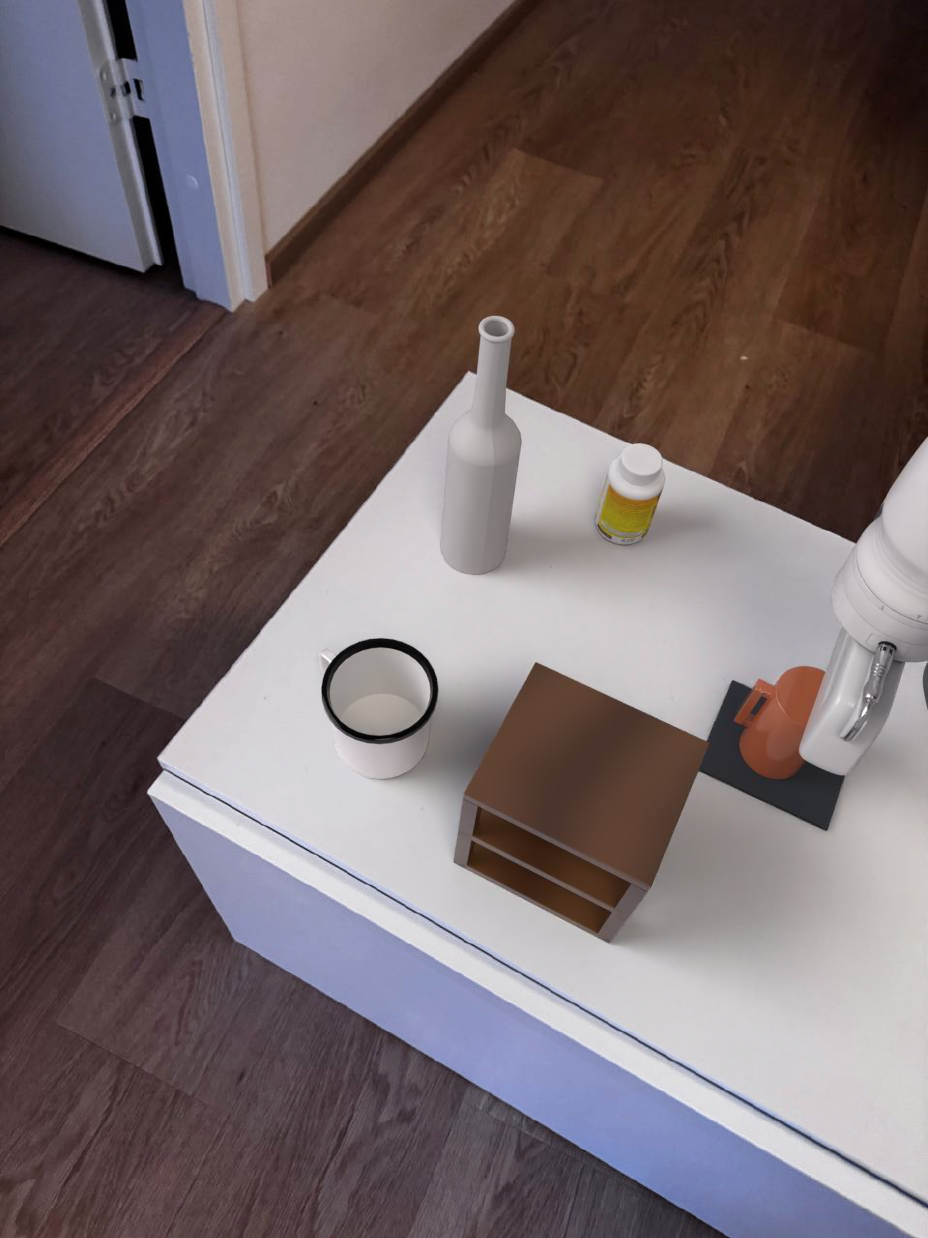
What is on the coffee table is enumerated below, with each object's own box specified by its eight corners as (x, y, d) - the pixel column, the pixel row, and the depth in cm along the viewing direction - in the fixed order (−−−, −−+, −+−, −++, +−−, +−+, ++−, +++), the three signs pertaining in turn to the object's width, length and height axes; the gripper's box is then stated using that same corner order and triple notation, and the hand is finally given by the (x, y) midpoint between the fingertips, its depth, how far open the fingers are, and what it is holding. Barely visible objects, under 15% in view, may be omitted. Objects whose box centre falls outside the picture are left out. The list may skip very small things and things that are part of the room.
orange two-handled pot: (820, 741, 87) (865, 688, 79) (802, 794, 84) (847, 746, 76) (737, 703, 89) (773, 647, 80) (716, 754, 86) (751, 702, 77)
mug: (457, 735, 86) (463, 687, 78) (380, 808, 82) (378, 764, 74) (363, 652, 90) (360, 598, 82) (285, 717, 86) (274, 667, 78)
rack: (662, 816, 83) (710, 742, 70) (609, 944, 77) (651, 887, 64) (515, 745, 86) (535, 661, 73) (452, 862, 80) (463, 793, 67)
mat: (855, 738, 88) (857, 735, 88) (826, 831, 83) (828, 829, 83) (730, 682, 90) (732, 679, 90) (695, 769, 86) (696, 767, 85)
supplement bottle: (651, 547, 98) (675, 481, 90) (597, 547, 98) (616, 481, 89) (644, 504, 101) (667, 436, 93) (591, 503, 101) (609, 435, 92)
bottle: (433, 526, 98) (444, 302, 74) (496, 516, 99) (527, 293, 76) (448, 579, 95) (465, 362, 71) (513, 568, 96) (551, 351, 72)
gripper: (917, 738, 59) (835, 821, 71) (981, 509, 69) (900, 615, 81) (817, 695, 60) (753, 783, 72) (894, 476, 71) (826, 585, 82)
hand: (831, 693), depth 77 cm, fingers open, 8 cm apart
